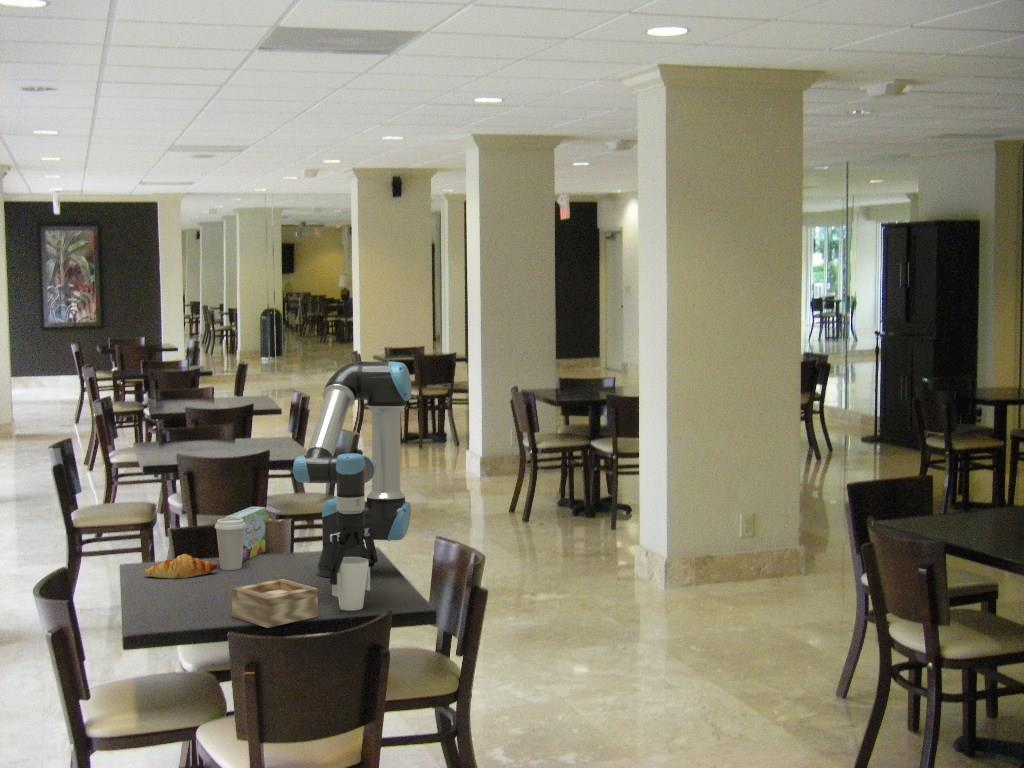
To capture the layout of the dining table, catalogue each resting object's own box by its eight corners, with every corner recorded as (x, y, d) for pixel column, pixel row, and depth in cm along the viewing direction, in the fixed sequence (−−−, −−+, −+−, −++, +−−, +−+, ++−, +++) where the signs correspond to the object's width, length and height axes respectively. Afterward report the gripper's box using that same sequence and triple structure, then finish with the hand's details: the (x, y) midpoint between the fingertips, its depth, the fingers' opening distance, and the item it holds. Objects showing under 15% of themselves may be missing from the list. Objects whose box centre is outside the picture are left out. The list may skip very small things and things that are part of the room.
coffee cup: (250, 564, 388) (250, 517, 387) (240, 571, 378) (240, 523, 377) (221, 564, 389) (220, 517, 388) (210, 570, 379) (210, 522, 378)
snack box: (240, 564, 388) (239, 517, 387) (223, 564, 389) (222, 516, 388) (266, 551, 409) (266, 506, 408) (250, 550, 410) (250, 505, 409)
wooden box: (282, 605, 337) (282, 578, 337) (317, 616, 326) (317, 588, 326) (232, 616, 326) (231, 588, 325) (267, 628, 315) (266, 599, 314)
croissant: (145, 591, 368) (144, 570, 363) (144, 569, 376) (143, 549, 372) (218, 584, 374) (218, 564, 370) (215, 563, 382) (215, 543, 378)
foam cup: (336, 613, 330) (336, 565, 329) (331, 604, 339) (331, 557, 338) (371, 610, 332) (371, 563, 331) (365, 602, 341) (365, 556, 340)
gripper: (326, 518, 323) (327, 602, 325) (391, 507, 339) (391, 588, 340) (309, 514, 328) (309, 597, 330) (373, 504, 344) (374, 583, 346)
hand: (351, 592), depth 335 cm, fingers closed on foam cup, 9 cm apart
